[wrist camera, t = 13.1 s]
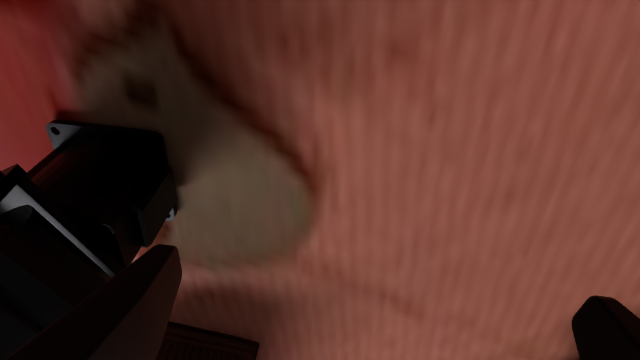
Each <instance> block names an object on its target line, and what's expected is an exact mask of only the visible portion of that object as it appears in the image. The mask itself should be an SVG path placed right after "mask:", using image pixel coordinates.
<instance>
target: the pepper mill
mask: <svg viewBox="0 0 640 360" xmlns="http://www.w3.org/2000/svg"><path fill="white" fill-rule="evenodd" d="M258 349H259V343H256V342H252V341H249V340H245V339H242V338H238V337H234V336H230V335H225V334H221V333H216V332H212V331H207V330H203V329H198V328H194V327H189V326H185V325H180V324H176V323H171V322H168V324H167V327H166V331H165V334H164V337H163V340H162V343H161V346H160V349H159V351H158V354H157V356H156V358H155V360H256V356H257V352H258Z"/></svg>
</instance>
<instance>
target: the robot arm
mask: <svg viewBox="0 0 640 360" xmlns="http://www.w3.org/2000/svg"><path fill="white" fill-rule="evenodd" d="M56 128H57V129H59V131H58V130H57V129H56ZM46 129H47V132H48V135H49V138H50V140H51V143H52V145H53V148H54V150H53V151H52V152H51V153H50V154H49V155H48V156H46V157H45V158H44V159H43V160H42V161H40V162H39V163H38V164H37V165H36V166H34V167H33V168H32V169H31V170H30V171H28V172H25V171H24V170H23V169H22V168H21V167H20V166H19V165H18V164H15V165H13V166H11V167H9V168H7V169H5V170H3V171H0V360H155V358H156V356H157V354H158V351H159V349H160V346H161V343H162V340H163V337H164V334H165V331H166V327H167V324H168V321H169V318H170V314H171V311H172V308H173V305H174V301H175V298H176V295H177V292H178V289H179V285H180V282H181V278H182V268H181V263H180V257H179V252H178V249H177V247H176V246H172V245H163V244H158V245H156V246H154V247H152V248H151V249H150V250H149V251H147V252H146V253H145V254H143V255H142V256H141V257H139V258H138V259H137V260H135V261H134V262H133V263H132V261H133V260H134V258H135V256H136V255H137V253H138V251H139V250H140V248H141V247H149V246H150V245H151V244H152V243H153V241H154V239H155V237H156V236H157V234H158V232H159V231H160V229H161V227H162V226H163V224H164V222H165V221H171V220H173V219H174V218H175V216H176V214H177V211H176V206H175V203H176V202H177V196H176V190H175V184H174V178H173V173H172V169H171V168H170V166H168V160H167V154H166V149H165V143H164V139H163V136H162V135H161V134H160V133H158V132H156V131H150V130H141V129H133V128H124V127H115V126H107V125H98V124H89V123H81V122H72V121H63V120H53V121H52V122H50V123H49V124H47V126H46ZM151 138H152V139H154V140H156V142H153V141H152V140H151ZM572 330H573V334H574V338H575V342H576V346H577V350H578V354H579V358H580V360H640V319H639V318H638V317H637V316H636V315H634V314H633V313H632V312H631V311H630V310H628V309H627V308H626V307H625V306H623V305H622V304H621V303H620V302H618V301H617V300H616V299H614V298H611V297H604V296H591V297H589V298H588V299H587V300H586V301H585V303H584V304H583V305H582V306H581V308H580V309H579V310H578V311H577V312H576V314H575V315H574V316H573V319H572Z"/></svg>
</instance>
